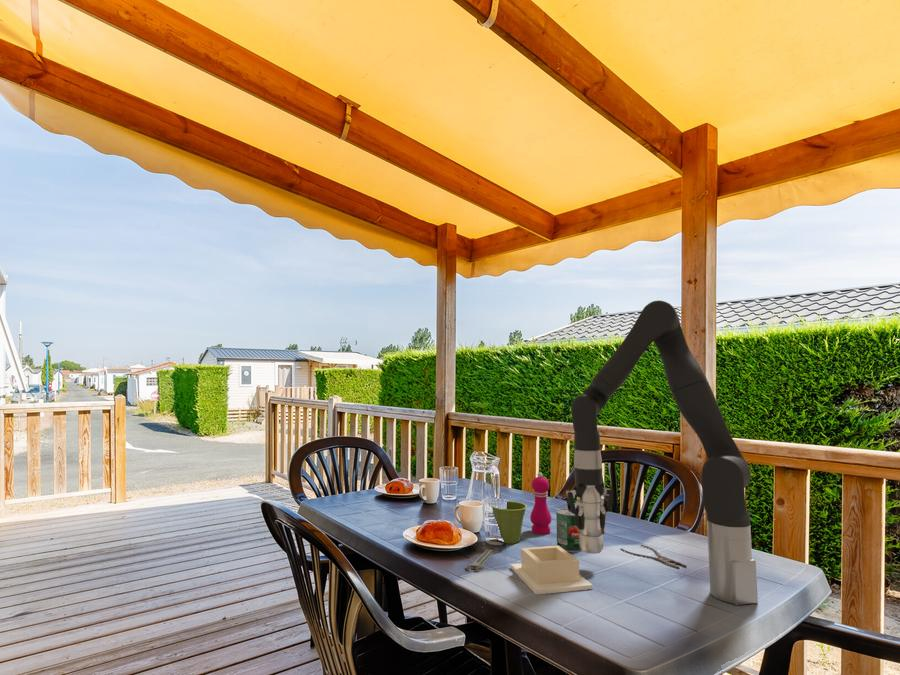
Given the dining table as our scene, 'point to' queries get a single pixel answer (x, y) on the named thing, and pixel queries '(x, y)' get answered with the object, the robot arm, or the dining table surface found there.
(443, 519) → the dining table surface
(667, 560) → the pliers
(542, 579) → the housing
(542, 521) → the pepper mill
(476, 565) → the wrench
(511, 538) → the plant pot
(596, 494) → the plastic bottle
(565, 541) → the canned tomato
